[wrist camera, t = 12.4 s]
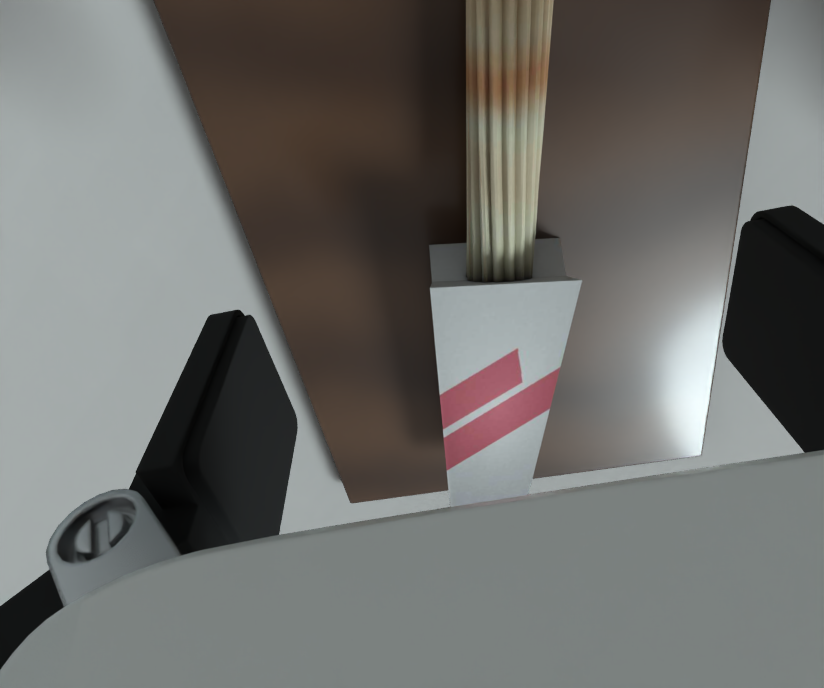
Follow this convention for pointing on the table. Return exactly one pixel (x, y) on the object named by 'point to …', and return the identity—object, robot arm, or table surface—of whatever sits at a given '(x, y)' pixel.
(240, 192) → the board
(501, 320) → the white and tan bar
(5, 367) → the table surface
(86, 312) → the table surface
